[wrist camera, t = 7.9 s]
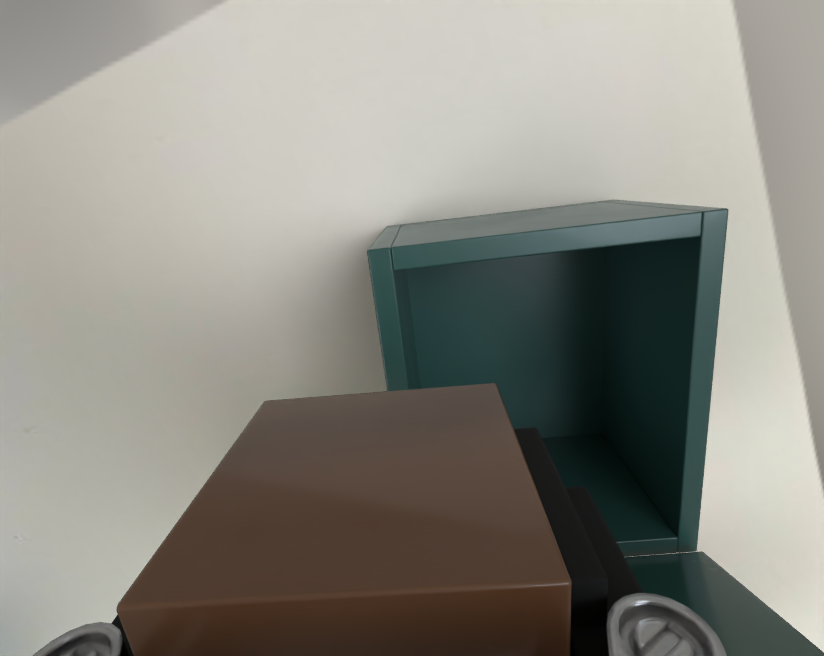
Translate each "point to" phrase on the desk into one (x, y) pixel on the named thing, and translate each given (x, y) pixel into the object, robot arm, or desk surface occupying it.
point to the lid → (721, 604)
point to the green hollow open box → (573, 342)
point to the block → (361, 538)
